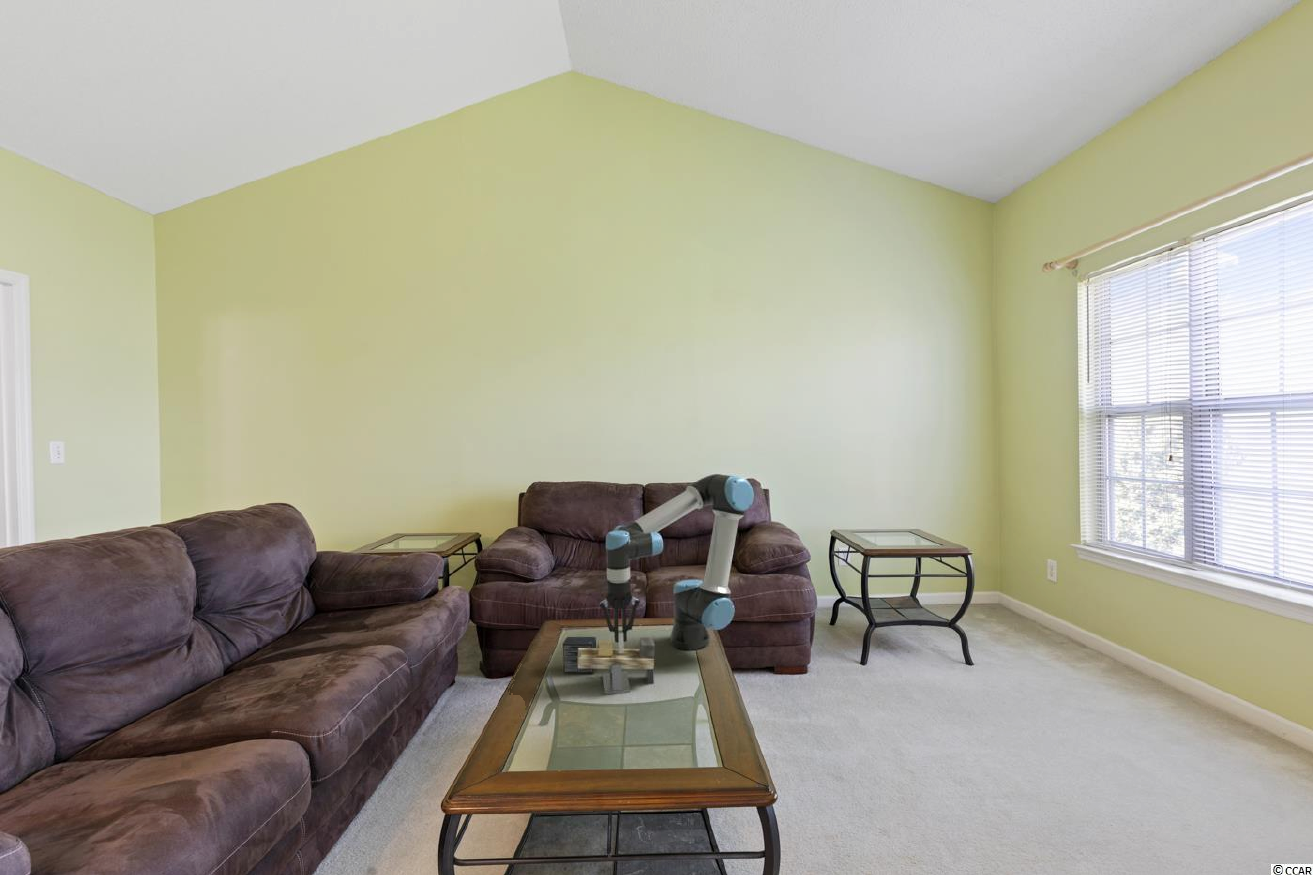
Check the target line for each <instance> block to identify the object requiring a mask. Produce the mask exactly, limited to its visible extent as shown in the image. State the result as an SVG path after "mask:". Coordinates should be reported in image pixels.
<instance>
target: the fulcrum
mask: <svg viewBox="0 0 1313 875" xmlns="http://www.w3.org/2000/svg"><path fill="white" fill-rule="evenodd" d="M615 649H618V647H617V648H615ZM622 670H623V669H622V667H621V663H618V664H612V669H609V672H606V673H602V675H601V676H602V682H603V689H604V690H603V691H604V695H605V696H606V695H616V694H623V693H624V694H625V693H630V692H631V686H630V683H629V677H628V674H627V670H626V671H622ZM644 670H645V679H646V680H645V681H646V683H647V685H652V684H654V683H655V682H654V676H655V675H654V668H653V669H644Z"/></svg>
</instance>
